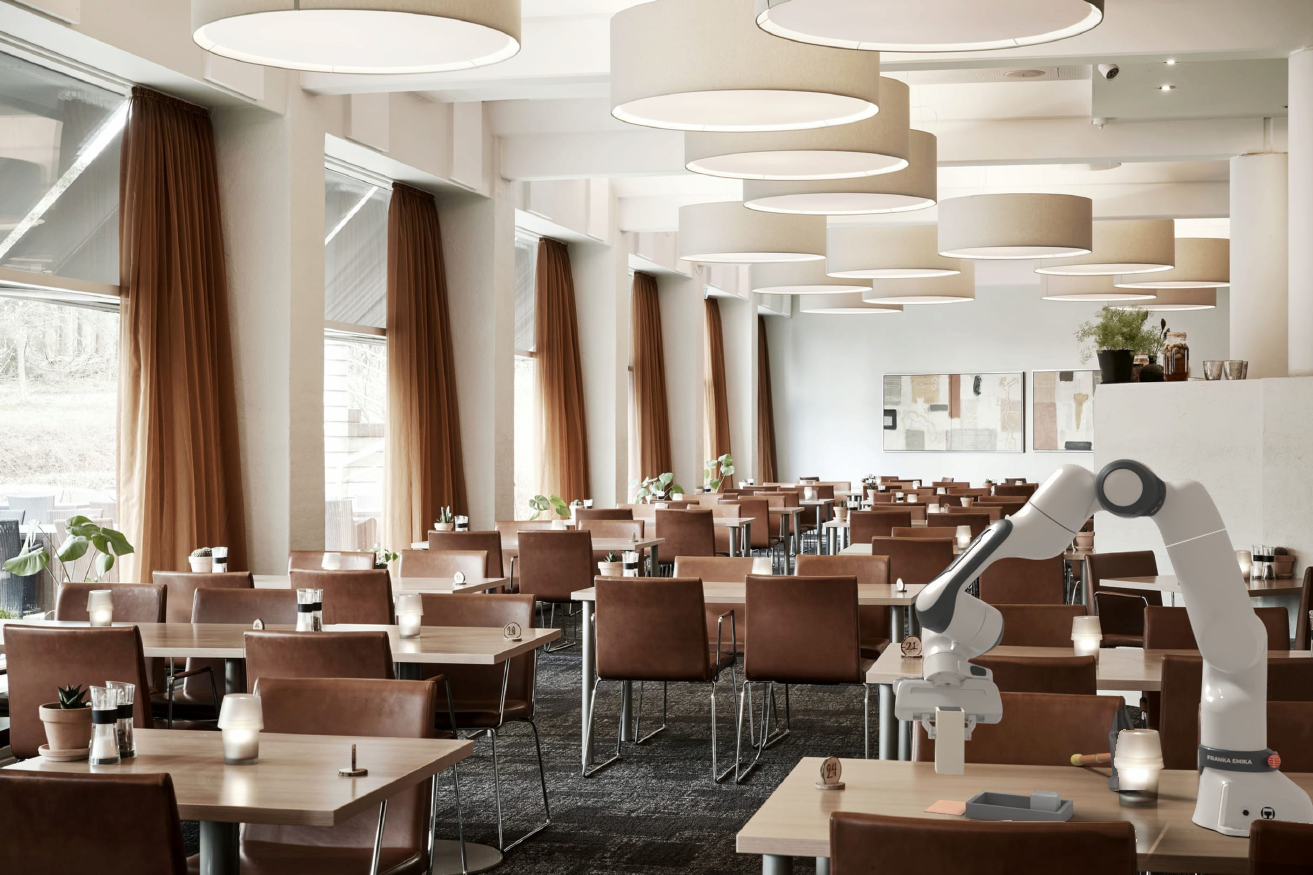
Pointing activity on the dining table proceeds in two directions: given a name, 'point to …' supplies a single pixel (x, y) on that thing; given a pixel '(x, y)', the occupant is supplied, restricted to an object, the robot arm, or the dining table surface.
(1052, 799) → the grey block
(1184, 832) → the dining table surface
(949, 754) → the white box
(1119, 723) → the hammer
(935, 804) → the pad
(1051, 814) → the parts tray
